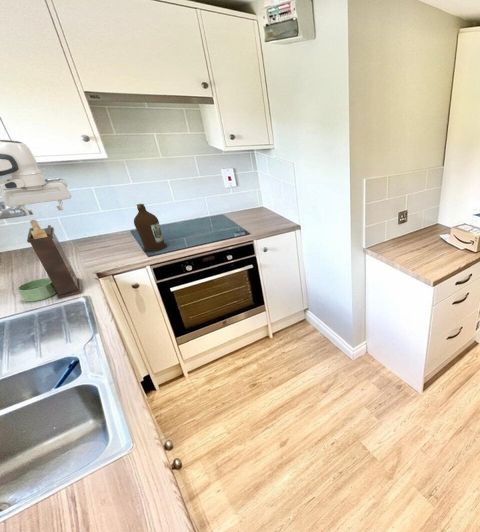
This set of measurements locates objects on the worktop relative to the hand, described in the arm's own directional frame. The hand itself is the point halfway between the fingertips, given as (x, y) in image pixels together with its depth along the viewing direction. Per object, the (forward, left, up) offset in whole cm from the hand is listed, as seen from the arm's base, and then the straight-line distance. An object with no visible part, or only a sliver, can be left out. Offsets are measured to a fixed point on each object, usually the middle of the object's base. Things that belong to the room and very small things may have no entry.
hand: (46, 212), depth 142 cm
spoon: (-3, -17, -3) cm, 18 cm away
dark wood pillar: (-2, -22, -29) cm, 36 cm away
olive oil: (+33, +6, -29) cm, 45 cm away
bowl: (-11, -21, -29) cm, 37 cm away
